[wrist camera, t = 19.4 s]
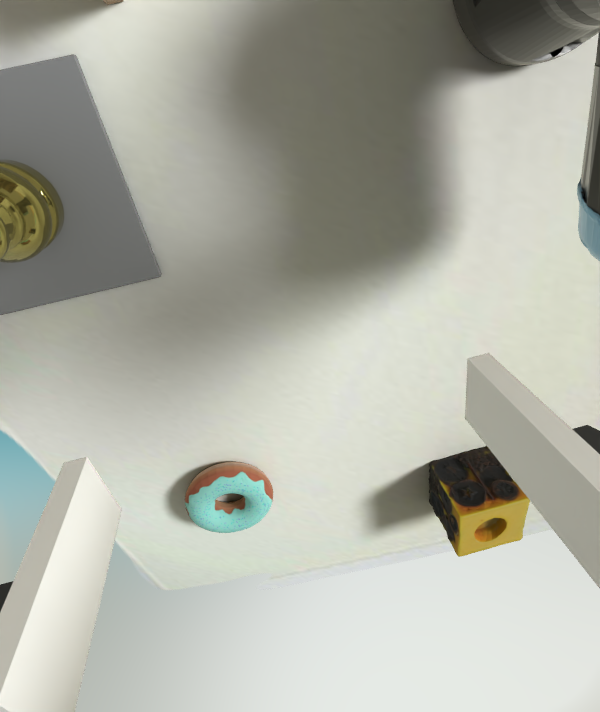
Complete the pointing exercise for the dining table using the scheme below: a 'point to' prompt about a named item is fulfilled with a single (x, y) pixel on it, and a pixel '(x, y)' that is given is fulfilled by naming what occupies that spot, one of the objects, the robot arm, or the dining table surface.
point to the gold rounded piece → (26, 212)
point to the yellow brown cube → (477, 501)
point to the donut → (228, 481)
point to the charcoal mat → (69, 189)
